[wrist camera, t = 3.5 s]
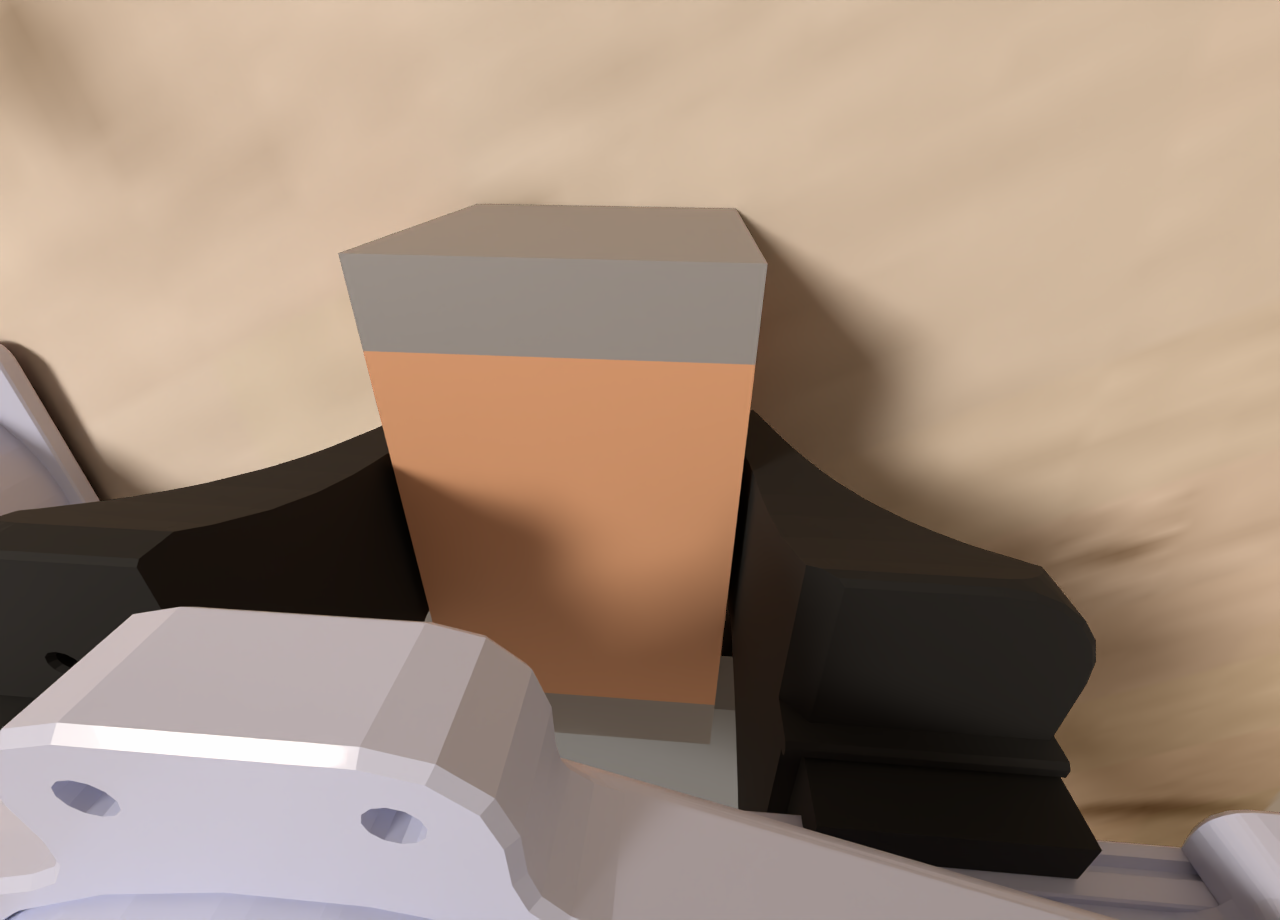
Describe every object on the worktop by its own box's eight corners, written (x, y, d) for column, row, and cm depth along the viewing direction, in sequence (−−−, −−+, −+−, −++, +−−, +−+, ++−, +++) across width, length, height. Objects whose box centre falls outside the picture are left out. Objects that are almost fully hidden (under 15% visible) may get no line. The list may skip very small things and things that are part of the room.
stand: (430, 758, 21) (386, 864, 18) (373, 577, 16) (302, 678, 13) (811, 789, 20) (833, 906, 17) (865, 607, 15) (908, 723, 12)
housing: (704, 570, 15) (709, 744, 11) (522, 559, 15) (459, 724, 11) (736, 208, 11) (767, 263, 6) (476, 203, 11) (338, 253, 7)
